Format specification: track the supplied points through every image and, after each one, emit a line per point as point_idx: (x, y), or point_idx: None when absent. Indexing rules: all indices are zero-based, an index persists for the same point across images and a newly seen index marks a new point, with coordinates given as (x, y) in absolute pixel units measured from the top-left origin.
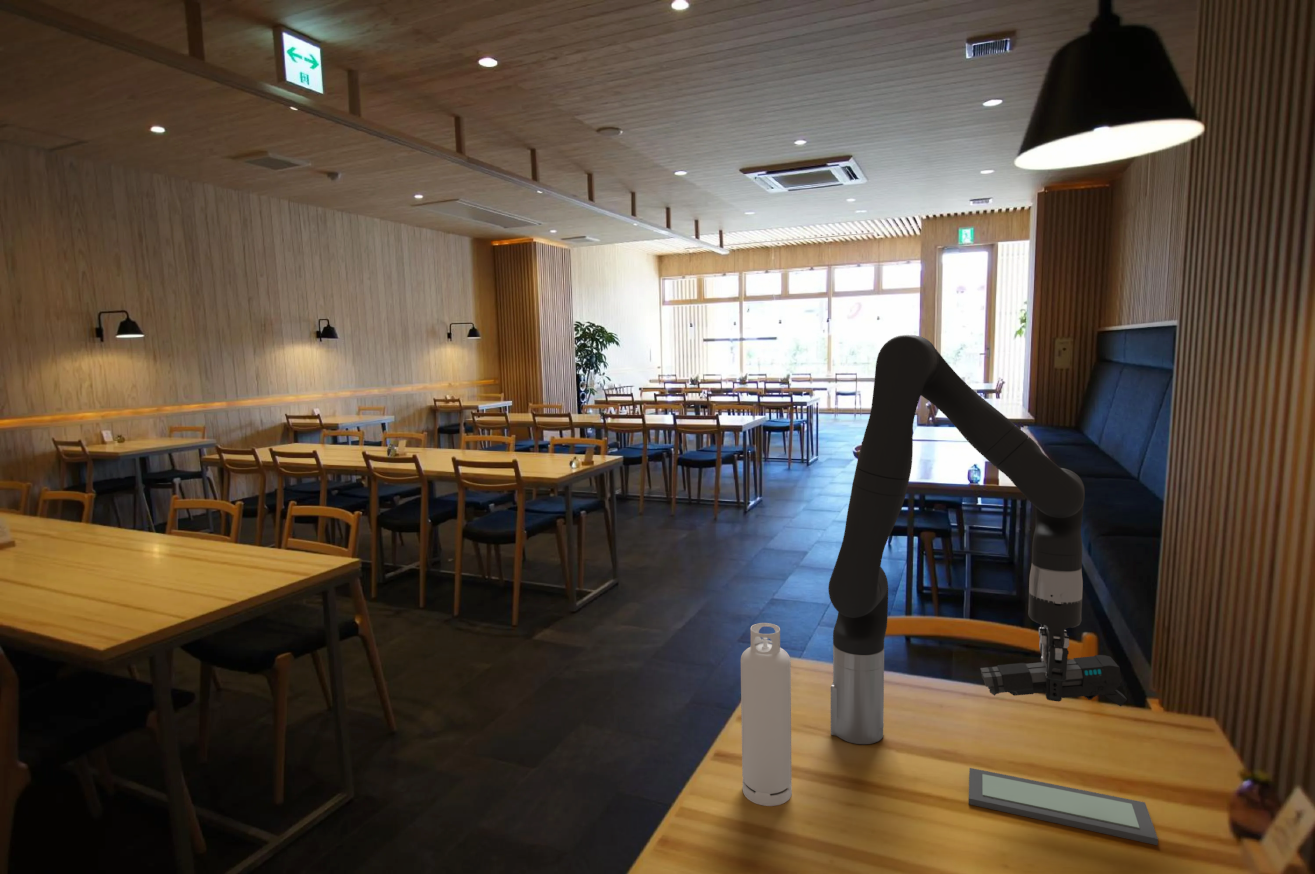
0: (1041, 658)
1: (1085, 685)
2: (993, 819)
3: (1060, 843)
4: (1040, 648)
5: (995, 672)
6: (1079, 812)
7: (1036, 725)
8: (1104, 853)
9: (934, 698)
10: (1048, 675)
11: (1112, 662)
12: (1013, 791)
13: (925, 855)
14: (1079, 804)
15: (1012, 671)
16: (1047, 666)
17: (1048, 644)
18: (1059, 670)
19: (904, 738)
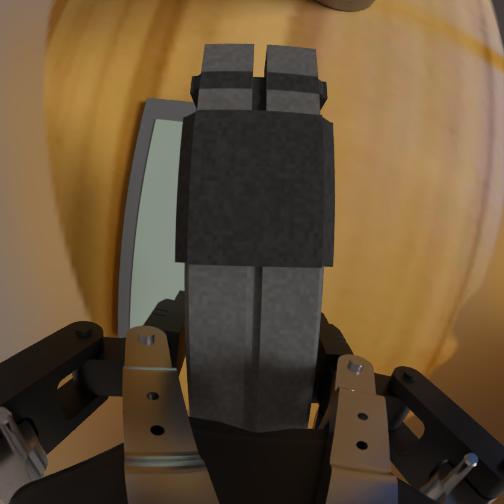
0: (351, 361)
1: None
2: (119, 133)
3: (88, 217)
4: (337, 400)
5: (249, 93)
6: (139, 262)
7: (413, 273)
8: (85, 267)
9: (469, 129)
10: (62, 330)
11: None
12: (174, 171)
13: (54, 59)
14: (160, 269)
15: (218, 170)
16: (126, 364)
17: (67, 476)
18: (195, 401)
19: (337, 36)
